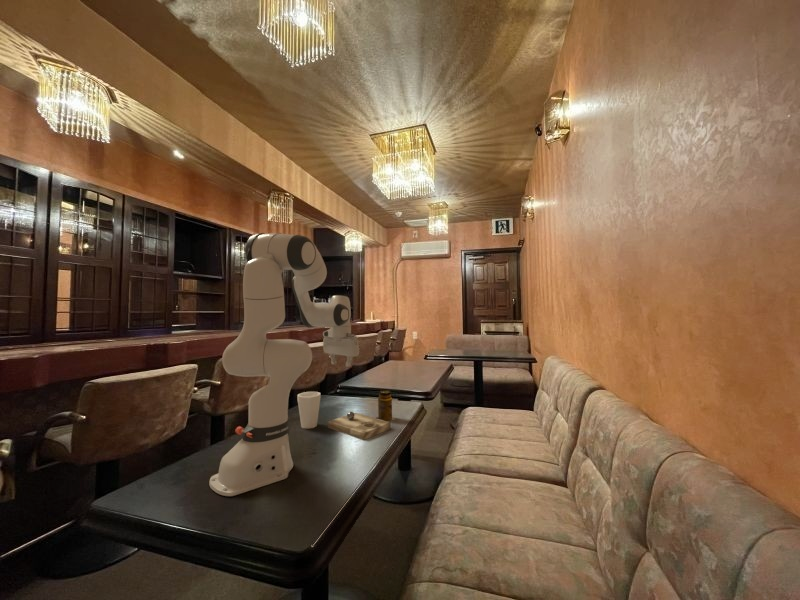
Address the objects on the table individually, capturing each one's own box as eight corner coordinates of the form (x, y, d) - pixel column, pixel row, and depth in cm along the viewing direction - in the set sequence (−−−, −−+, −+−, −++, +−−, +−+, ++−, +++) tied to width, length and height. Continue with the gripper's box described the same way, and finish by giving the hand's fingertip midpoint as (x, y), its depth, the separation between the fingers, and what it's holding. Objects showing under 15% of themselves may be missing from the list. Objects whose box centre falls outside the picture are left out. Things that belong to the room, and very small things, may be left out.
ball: (350, 421, 134) (350, 413, 134) (345, 419, 136) (345, 411, 136) (356, 419, 137) (356, 411, 137) (351, 417, 139) (351, 410, 139)
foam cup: (293, 425, 137) (293, 394, 137) (313, 420, 143) (313, 390, 144) (303, 431, 130) (303, 398, 130) (324, 426, 136) (324, 394, 137)
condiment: (396, 419, 144) (395, 391, 144) (381, 424, 138) (381, 395, 138) (385, 415, 149) (384, 389, 149) (370, 420, 143) (370, 392, 144)
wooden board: (363, 440, 121) (363, 433, 121) (327, 427, 134) (327, 421, 134) (390, 428, 132) (390, 422, 132) (355, 418, 146) (355, 412, 146)
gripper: (362, 333, 137) (362, 366, 137) (332, 331, 150) (332, 361, 150) (351, 334, 132) (351, 369, 132) (320, 332, 145) (320, 363, 145)
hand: (340, 365), depth 141 cm, fingers open, 8 cm apart
